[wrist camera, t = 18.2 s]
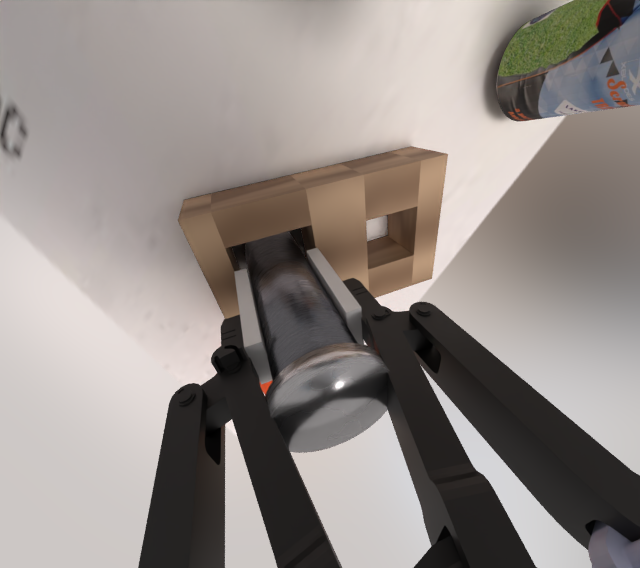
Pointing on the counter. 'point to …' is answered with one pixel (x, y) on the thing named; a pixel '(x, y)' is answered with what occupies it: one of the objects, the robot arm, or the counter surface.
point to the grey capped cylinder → (311, 352)
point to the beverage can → (573, 61)
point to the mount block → (328, 220)
